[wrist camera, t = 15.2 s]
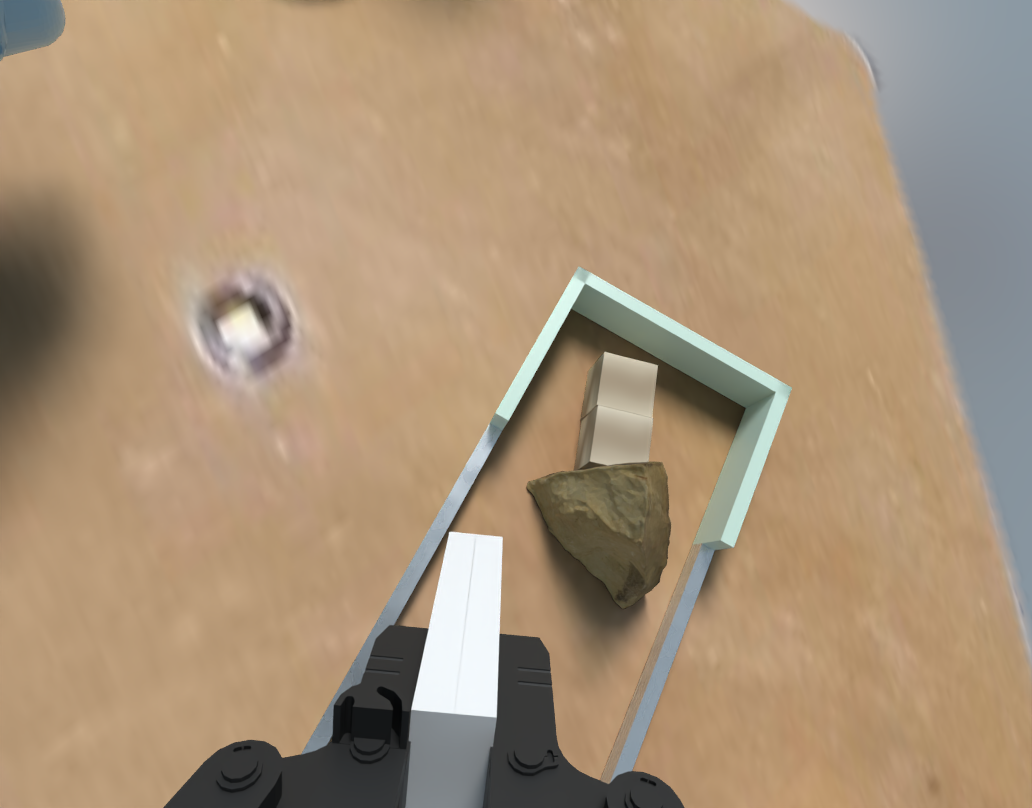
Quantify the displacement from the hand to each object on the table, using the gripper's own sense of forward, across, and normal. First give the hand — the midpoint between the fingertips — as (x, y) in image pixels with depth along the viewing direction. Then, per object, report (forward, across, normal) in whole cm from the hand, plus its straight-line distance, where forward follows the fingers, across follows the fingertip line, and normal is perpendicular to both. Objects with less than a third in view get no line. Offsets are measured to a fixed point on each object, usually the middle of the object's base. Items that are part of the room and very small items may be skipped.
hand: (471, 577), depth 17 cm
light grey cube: (+26, +8, -5) cm, 28 cm away
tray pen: (+28, +10, -3) cm, 30 cm away
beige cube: (+29, +9, -2) cm, 30 cm away
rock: (+23, +8, -10) cm, 26 cm away
